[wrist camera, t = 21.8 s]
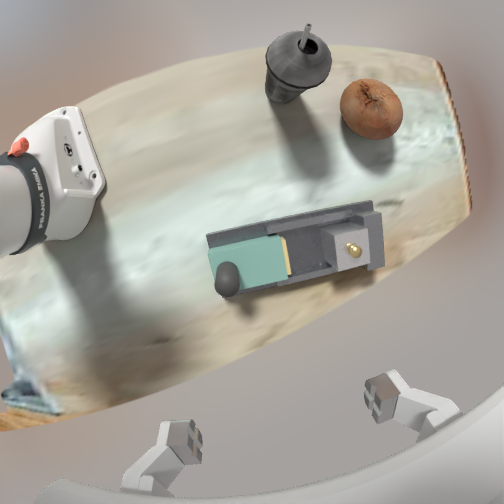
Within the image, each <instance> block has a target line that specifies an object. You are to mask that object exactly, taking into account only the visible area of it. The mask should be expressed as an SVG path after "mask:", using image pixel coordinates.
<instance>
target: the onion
mask: <svg viewBox="0 0 504 504" xmlns="http://www.w3.org/2000/svg"><path fill="white" fill-rule="evenodd" d="M340 110H341V114H342V117H343V119H344V121H345V122H346V124H347V125H348V126H349V127H350V128H351V129H352V130H353V131H354V132H355V133H357V134H359V135H361V136H363V137H366V138H368V139H376V140H379V139H385V138H388V137H390V136H391V135H393V134H394V133H395V132H396V131H397V130H398V129H399V127H400V125H401V123H402V118H403V109H402V105H401V102H400V100H399V98H398V97H397V95H396V94H395V93H394V92H393V90H392V89H391V88H390V87H388V86H387V85H386V84H384V83H382V82H380V81H377V80H373V79H360V80H357V81H354V82H352V83H351V84H350V85H349V86H348V87H347V88H346V89H345V90H344V92H343V94H342V97H341V101H340Z"/></svg>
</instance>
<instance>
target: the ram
mask: <svg viewBox="0 0 504 504" xmlns="http://www.w3.org/2000/svg"><path fill="white" fill-rule="evenodd" d="M208 257H209V261H210V265H211V269H212V273H213V276H214V280H215V290H216V291H217V293H218V295H219V294H220V295H221V296H224V297H230V296H233V295H235V294H236V293H237V292H238V290H242V289H247V288H251V287H256V286H260V285H264V284H269V283H273V282H278V281H282V280H286V279H288V275H290V274H291V269H290V263H289V257H288V252H287V246H286V240H285V239H284V238H283V237H280V236H279V235H278V234H273V235H269V236H264V237H259V238H255V239H250V240H246V241H241V242H237V243H232V244H228V245H223V246H219V247H214V248H210V249H209V251H208Z"/></svg>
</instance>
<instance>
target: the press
mask: <svg viewBox="0 0 504 504" xmlns="http://www.w3.org/2000/svg"><path fill="white" fill-rule="evenodd" d="M347 221H351V222H353V223H356V224H358V225H361V226H363V227H366V228H368V238H369V251H370V263H369V264H365V265H361V266H362V267H363V268H364V269H366V270H367V271H370V270H373V269H377V268H380V267H384V266H385V259H384V241H383V227H382V216H381V213H380V212H376V211H374V210H373V202H372V201H371V200H368V201H362V202H357V203H351V204H346V205H341V206H336V207H330V208H325V209H320V210H315V211H310V212H305V213H300V214H295V215H291V216H286V217H281V218H276V219H271V220H267V221H262V222H257V223H253V224H248V225H244V226H239V227H235V228H230V229H226V230H221V231H217V232H212V233H208V234H206V237H207V241H208V245H209V249H210V248H214V247H219V246H223V245H228V244H232V243H237V242H241V241H246V240H250V239H255V238H259V237H264V236H269V235H273V234H278V235H279V236H280V237H283V238H284V239H285V240H286V246H287V252H288V257H289V263H290V269H291V274H290V275H288V279H286V280H282V281H278V282H273V283H269V284H264V285H260V286H256V287H251V288H247V289H242V290H238V292H237V293H236V294H235V295H238V294H243V293H247V292H252V291H257V290H261V289H265V288H270V287H274V286H278V287H279V286H283V285H287V284H291V283H296V282H300V281H304V280H308V279H312V278H316V277H320V276H324V275H328V274H332V273H336V272H338V271H337V270H336V269H335V268H334V267H333V266H332V265H330V264H329V263H328V262H327V261H326V260H325V259H324V254H323V247H322V240H321V233H320V227H324V226H329V225H333V224H338V223H343V222H347ZM354 268H355V267H354ZM350 269H351V268H350ZM346 270H347V269H346ZM343 271H344V270H343ZM339 272H340V271H339ZM233 296H234V295H233ZM222 298H224V296H222Z"/></svg>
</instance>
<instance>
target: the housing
mask: <svg viewBox="0 0 504 504" xmlns="http://www.w3.org/2000/svg"><path fill="white" fill-rule="evenodd" d="M320 233H321V240H322V247H323V254H324V259H325V260H326V261H327V262H328V263H329V264H330V265H332V266H333V267H334V268H335V269H336V270H337V271H338V272H339V271H343V270H346V269H350V268H354V267H358V266H361V265H365V264H369V263H370V251H369V238H368V228H366V227H363V226H361V225H358V224H356V223H353V222H351V221H347V222H343V223H338V224H333V225H329V226H324V227H320Z"/></svg>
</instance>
